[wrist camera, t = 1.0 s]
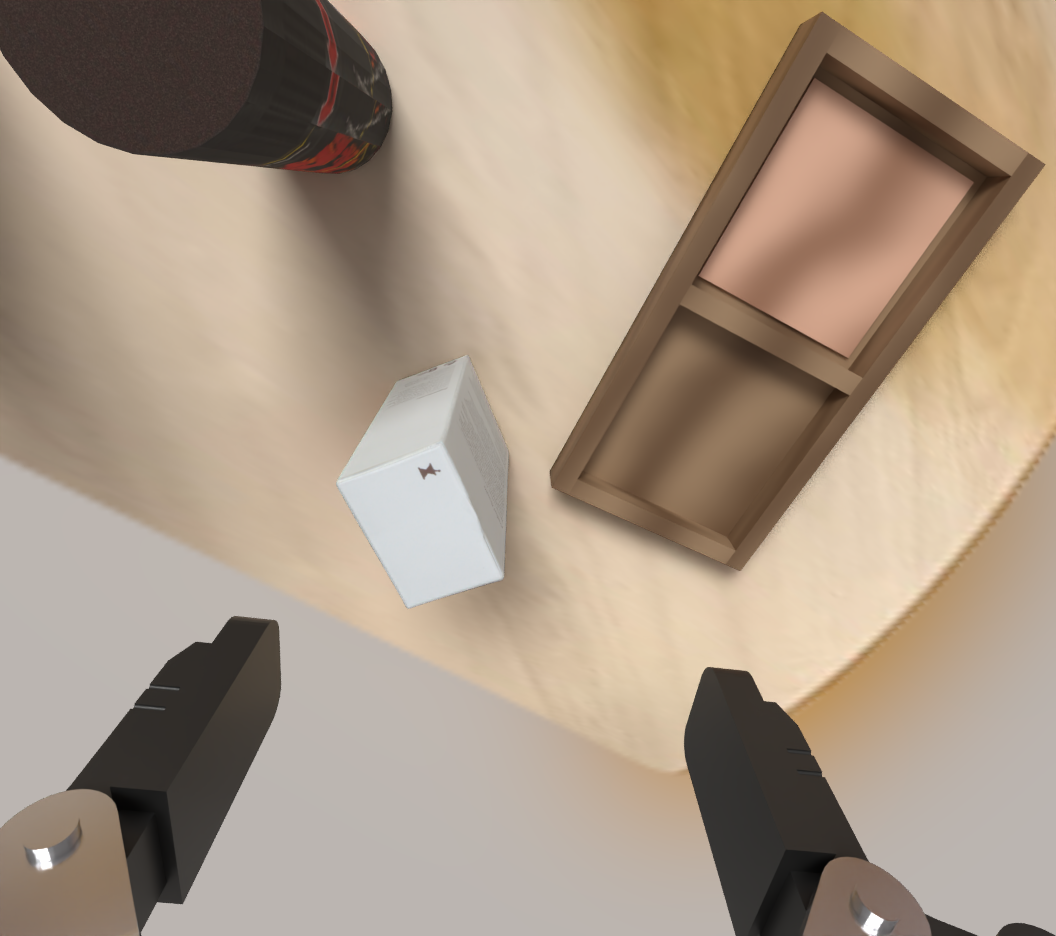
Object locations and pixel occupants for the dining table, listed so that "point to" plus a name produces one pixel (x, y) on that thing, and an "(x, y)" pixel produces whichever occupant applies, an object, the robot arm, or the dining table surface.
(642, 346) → the two-section desk tray
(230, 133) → the deodorant
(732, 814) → the robot arm
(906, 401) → the dining table surface
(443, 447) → the skincare box
